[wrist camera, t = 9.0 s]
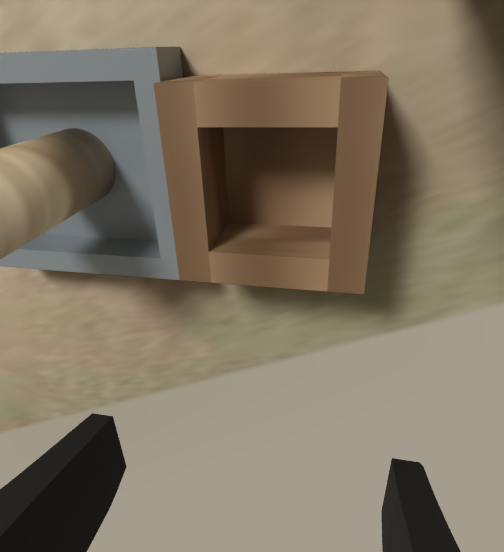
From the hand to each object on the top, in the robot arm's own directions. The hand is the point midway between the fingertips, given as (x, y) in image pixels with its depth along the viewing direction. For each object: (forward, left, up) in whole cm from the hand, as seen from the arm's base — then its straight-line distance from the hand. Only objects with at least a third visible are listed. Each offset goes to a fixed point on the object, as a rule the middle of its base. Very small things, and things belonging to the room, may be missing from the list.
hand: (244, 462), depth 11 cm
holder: (+1, -5, -10) cm, 12 cm away
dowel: (+10, -5, -10) cm, 15 cm away
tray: (+10, -5, -10) cm, 15 cm away
